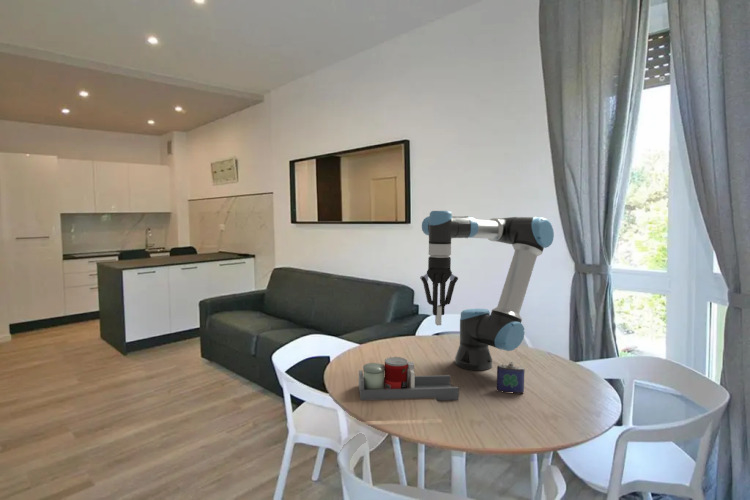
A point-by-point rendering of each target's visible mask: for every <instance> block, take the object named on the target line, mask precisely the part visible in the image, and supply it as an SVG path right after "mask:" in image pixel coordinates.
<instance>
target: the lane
mask: <svg viewBox="0 0 750 500" xmlns="http://www.w3.org/2000/svg"><path fill="white" fill-rule="evenodd" d="M384 379H385V376H384ZM358 389H359V397H360V401H372V400H373V401H374V400H375V401H377V400H398V399H399V400H401V399H402V400H403V399H404V400H405V399H406V400H407V399H429V398H430V399H432V398H433V399H434V398H435V400H436V401H453V400H458V401H459V397H460V396H459V393H460V391H459V390H460V388H459V387H458V386H452V385H451V375H450V374H441V375H440V374H439V375H435V374H434V375H415V388H408V387H407V388H405V389H373V390H364V371H363V369H361V370H358Z"/></svg>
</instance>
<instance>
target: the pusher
mask: <svg viewBox="0 0 750 500" xmlns="http://www.w3.org/2000/svg"><path fill="white" fill-rule="evenodd" d="M415 374H416V372H415V363H414V361H408V381H407V387H408V388H415V376H416V375H415Z"/></svg>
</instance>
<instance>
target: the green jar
mask: <svg viewBox="0 0 750 500" xmlns="http://www.w3.org/2000/svg"><path fill="white" fill-rule="evenodd" d="M362 368H363V369H362V371H363V377H364V390H373V389H384V377H385V364H382V363H379V362H370V363H365V364H364V365H362Z"/></svg>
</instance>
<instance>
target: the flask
mask: <svg viewBox="0 0 750 500" xmlns="http://www.w3.org/2000/svg"><path fill="white" fill-rule="evenodd" d="M525 369H526V368H524V367H521V366H514V362H513V361H511V362H509V363H508V364H507V365H506V364H503V363H502V364H498V365H497V368H496V391H497V390H498V391H497V392H499V391H503V392H502V393H504V392H513V393H523V392H524V393H525ZM524 393H523V394H524Z"/></svg>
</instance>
